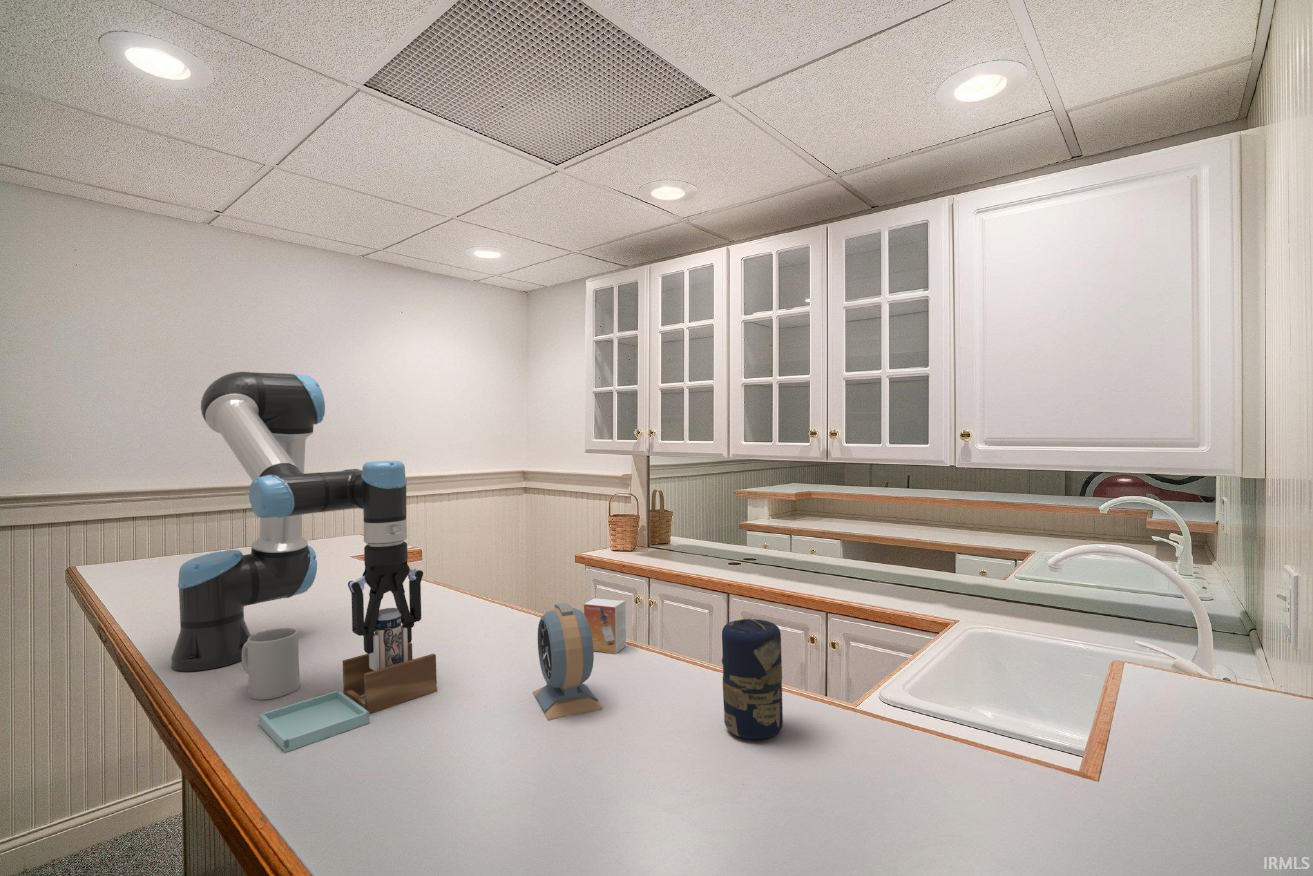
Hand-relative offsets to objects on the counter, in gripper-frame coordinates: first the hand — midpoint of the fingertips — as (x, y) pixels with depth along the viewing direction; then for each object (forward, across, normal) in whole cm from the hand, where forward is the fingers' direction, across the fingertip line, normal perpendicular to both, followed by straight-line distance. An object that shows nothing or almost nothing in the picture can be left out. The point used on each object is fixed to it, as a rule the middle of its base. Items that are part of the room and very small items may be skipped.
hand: (388, 664), depth 119 cm
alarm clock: (+5, +20, -28) cm, 35 cm away
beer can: (+2, 0, 0) cm, 2 cm away
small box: (+6, +43, -13) cm, 45 cm away
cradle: (+6, 0, 0) cm, 6 cm away
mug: (+6, -15, +21) cm, 26 cm away
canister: (+5, +33, -60) cm, 69 cm away
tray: (+6, -14, -2) cm, 15 cm away
